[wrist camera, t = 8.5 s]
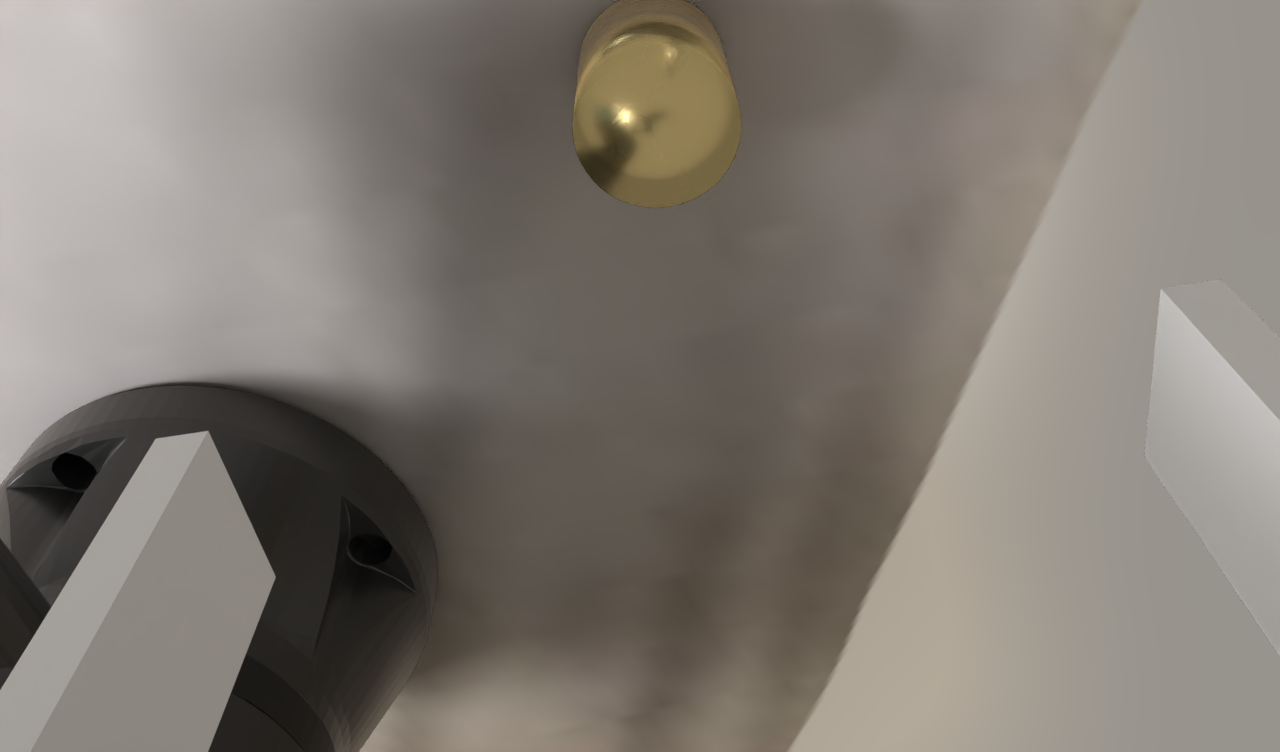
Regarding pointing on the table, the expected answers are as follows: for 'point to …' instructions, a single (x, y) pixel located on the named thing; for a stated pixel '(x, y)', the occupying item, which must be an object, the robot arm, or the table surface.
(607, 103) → the roller
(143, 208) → the table surface
